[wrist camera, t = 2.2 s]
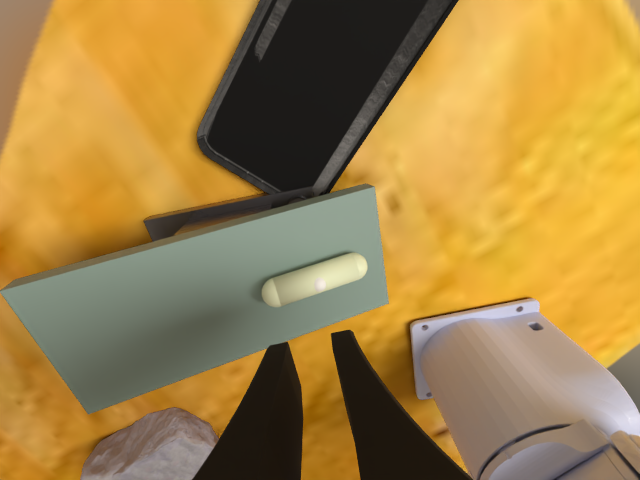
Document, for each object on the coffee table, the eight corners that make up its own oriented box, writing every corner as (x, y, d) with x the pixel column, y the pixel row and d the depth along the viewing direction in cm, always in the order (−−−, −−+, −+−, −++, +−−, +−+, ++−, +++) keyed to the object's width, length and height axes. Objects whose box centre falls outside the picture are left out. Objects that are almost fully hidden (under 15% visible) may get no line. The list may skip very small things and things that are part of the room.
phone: (488, -44, 14) (311, 219, 18) (475, -34, 15) (310, 213, 19) (348, -191, 12) (187, 145, 16) (344, -166, 13) (194, 143, 17)
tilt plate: (358, 180, 17) (389, 192, 14) (374, 287, 20) (402, 317, 16) (27, 270, 13) (-29, 312, 10) (101, 384, 16) (75, 443, 13)
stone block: (188, 378, 26) (83, 443, 26) (179, 427, 22) (53, 507, 21) (262, 449, 31) (175, 505, 31) (266, 500, 27) (166, 567, 26)
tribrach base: (311, 183, 18) (314, 197, 15) (332, 281, 21) (337, 309, 18) (149, 216, 18) (121, 236, 16) (190, 310, 21) (173, 342, 18)
